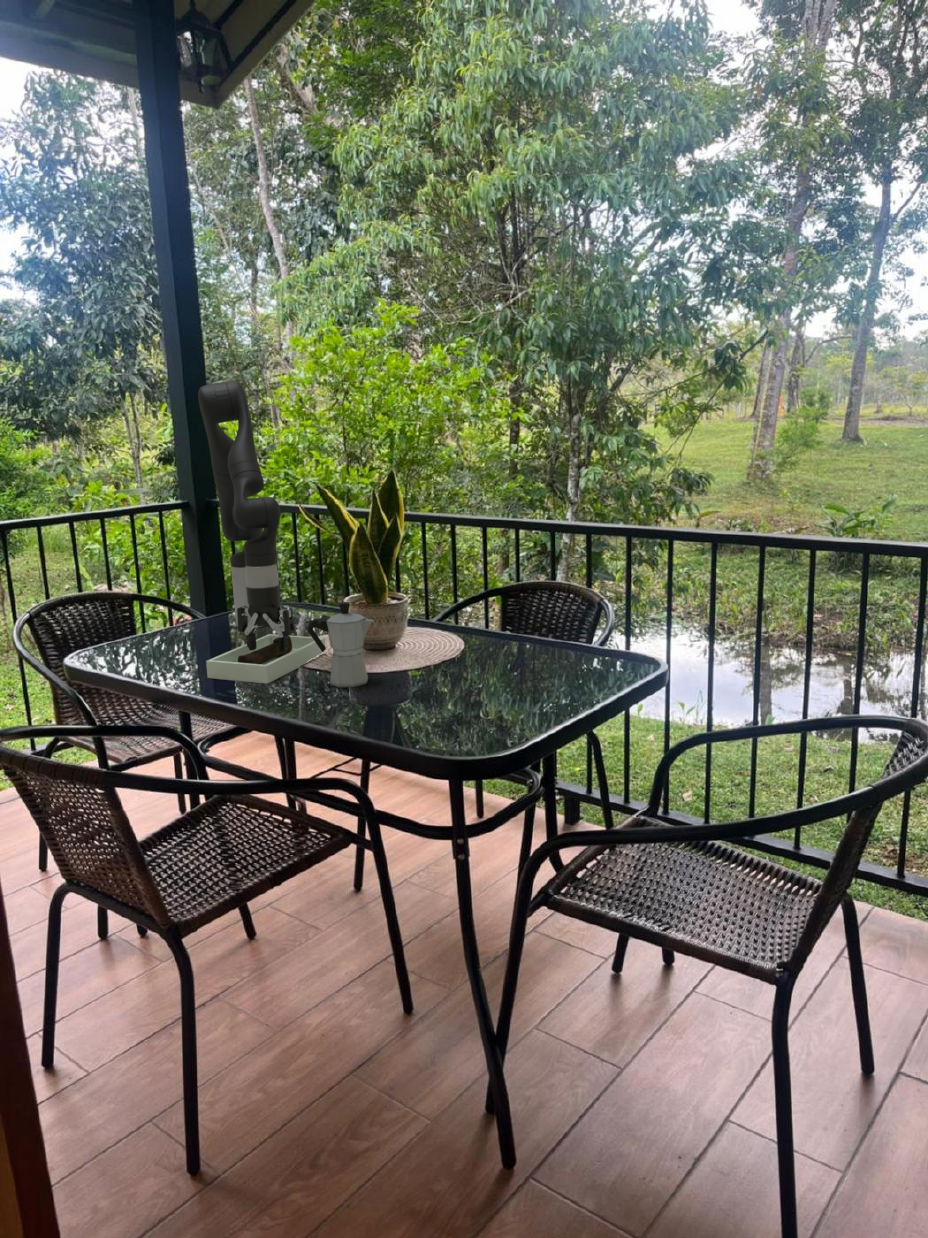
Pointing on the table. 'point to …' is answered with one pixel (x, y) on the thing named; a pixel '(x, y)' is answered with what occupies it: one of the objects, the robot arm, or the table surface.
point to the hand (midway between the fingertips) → (267, 650)
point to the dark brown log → (265, 653)
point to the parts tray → (269, 670)
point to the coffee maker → (344, 645)
